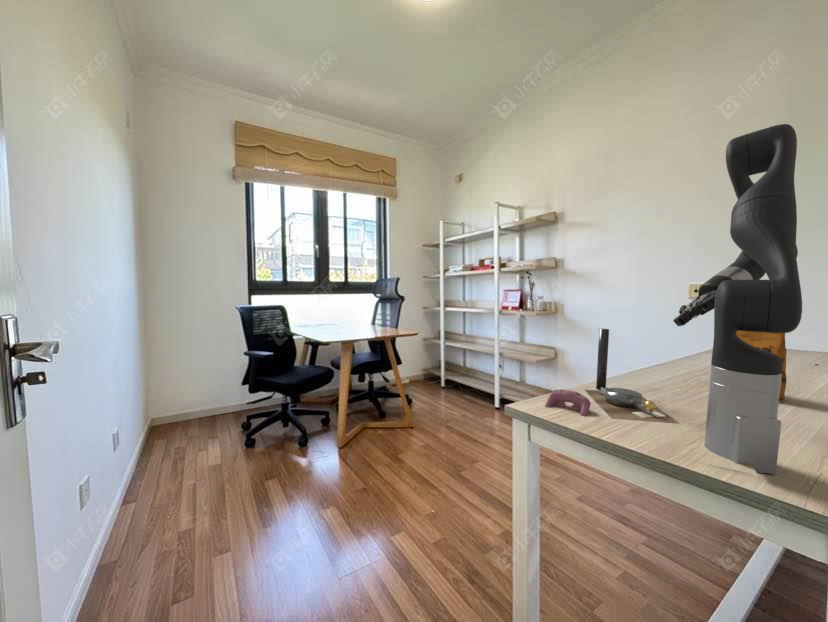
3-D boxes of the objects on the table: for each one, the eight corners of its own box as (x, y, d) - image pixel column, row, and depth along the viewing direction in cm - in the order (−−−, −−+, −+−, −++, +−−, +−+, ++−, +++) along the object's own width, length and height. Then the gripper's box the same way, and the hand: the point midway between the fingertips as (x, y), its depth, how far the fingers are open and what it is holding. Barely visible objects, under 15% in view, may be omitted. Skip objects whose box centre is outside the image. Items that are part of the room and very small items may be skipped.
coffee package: (773, 403, 94) (781, 323, 92) (719, 390, 105) (725, 319, 103) (791, 399, 98) (800, 322, 96) (737, 386, 109) (743, 318, 107)
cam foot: (668, 414, 80) (674, 339, 79) (639, 416, 79) (644, 339, 77) (609, 390, 98) (613, 328, 97) (585, 391, 97) (588, 328, 95)
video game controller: (589, 425, 82) (593, 396, 84) (584, 421, 79) (589, 392, 81) (547, 414, 89) (553, 388, 91) (542, 410, 86) (547, 383, 88)
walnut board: (679, 429, 76) (680, 422, 76) (611, 424, 79) (611, 417, 79) (636, 397, 97) (636, 391, 97) (583, 394, 100) (583, 388, 100)
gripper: (695, 283, 98) (650, 317, 95) (737, 266, 85) (686, 304, 82) (714, 304, 96) (669, 339, 94) (760, 290, 83) (709, 330, 81)
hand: (677, 323), depth 88 cm, fingers closed
